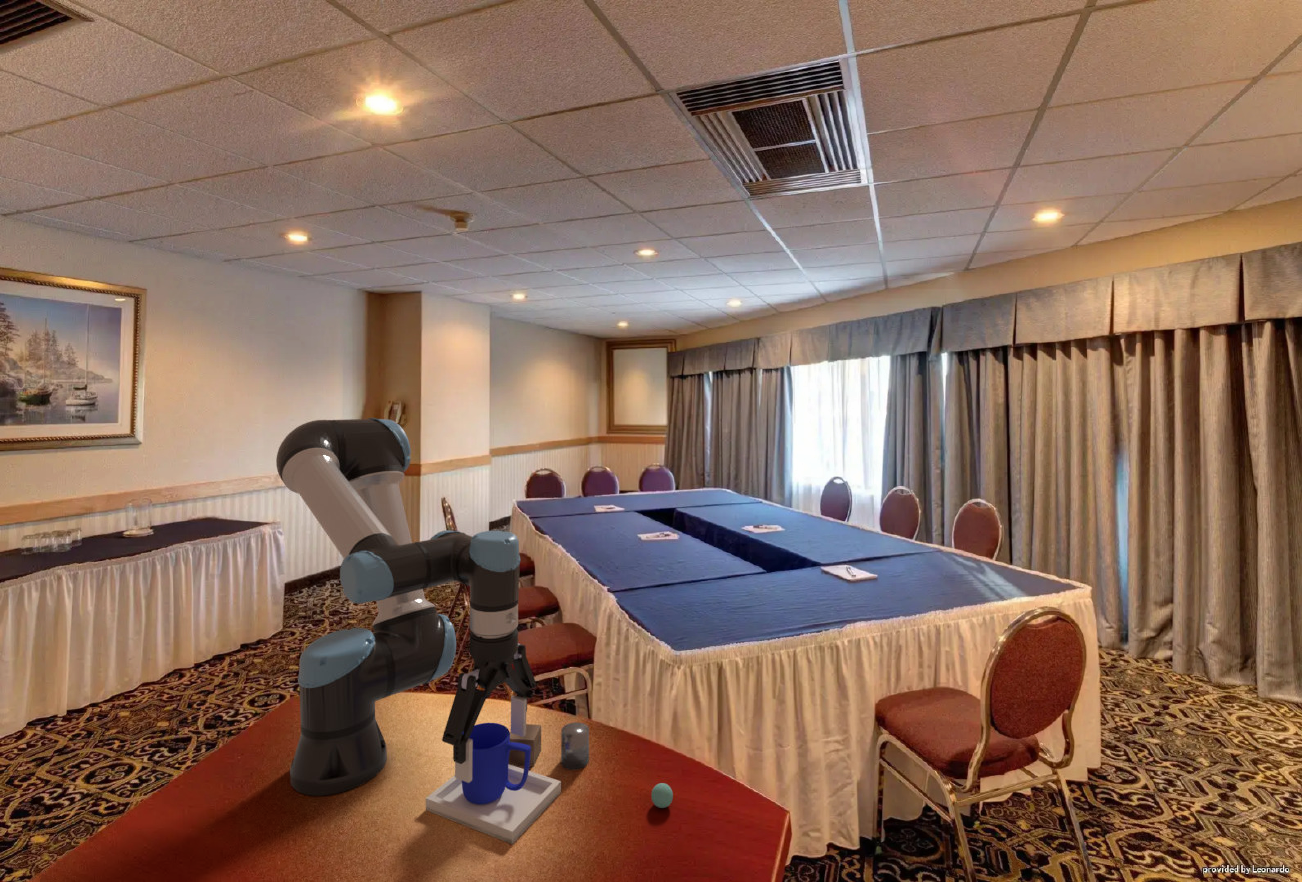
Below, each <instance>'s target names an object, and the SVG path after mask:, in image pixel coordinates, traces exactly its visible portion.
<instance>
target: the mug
mask: <svg viewBox="0 0 1302 882" xmlns="http://www.w3.org/2000/svg"><path fill="white" fill-rule="evenodd" d="M510 731H511V730H509V728H508V727H507V726H505V725H504V724H501V723H497V722H496V723H495V722H483V723H478V724H475V725H474V728H473V730H472V733H471V735H470V737H469V739H472V740H473V752H472V781H471V782H469V783H468V782H465V781H462V790H463V794H464V796H465V798H466V799H467V800H468V801H469V802H471V803H474V804H487V803H490V802H493V801H495V800H496V799H498V798H499V797H500V796H501V795H502V794H503V792H504V790H505V787H506V788H507V789H509V790H512V791H517V790H520V789H521V788H522V787H523V786H524V784H525V782H526V780H527V776H528V772H529V771H530V766H529V765H530V755H531V747H530V746H529V745H526V744H522V743H515V742H510ZM463 733H464V732H463ZM510 750H519V751H523V752H525V764H524V766H523V769H524V773H523V777H522V780H521V782H520V783H519V784H512V783H510V782H509V780H508V763H509V753H510Z"/></svg>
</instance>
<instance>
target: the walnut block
mask: <svg viewBox="0 0 1302 882" xmlns="http://www.w3.org/2000/svg"><path fill="white" fill-rule="evenodd" d="M509 731H510V742H515V743H522V744H526V745H529V746H530V747H531V755H530V765H529V767H535V765H536V764H537V760H538V759H539V756H540V754H541V752H542V724H530V723H526V735H525V736H524V737H522V736H519V735H516V734H513V733H511V730H509ZM508 764H510V765H513V766H521V767H524V764H525V752H523V751H519V750H510V753H509V763H508Z"/></svg>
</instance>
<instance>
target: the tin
mask: <svg viewBox="0 0 1302 882" xmlns="http://www.w3.org/2000/svg"><path fill="white" fill-rule="evenodd" d="M560 734H561V736H560V737H561V738H560V749H561V750H560V763H561V764H560V765H561V766H562V767H563V769H564V768H565V769H566V770H570V771H578V770H581V769H584V768H585V767H587V766H588V764H589V762H590V727H589V726H588V725H587V724H585V723H583V722H569V723H567V724H565V725H563V727H562V728H561V731H560Z"/></svg>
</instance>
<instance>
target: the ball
mask: <svg viewBox="0 0 1302 882" xmlns="http://www.w3.org/2000/svg"><path fill="white" fill-rule="evenodd" d="M650 795H651V797H650V798H651V801H652V803H653V805H655V807H657V808H659V809H664V808H667V807H669V806H670V804H671V803H672V802H673V798H674V793H673V790H672V788H671V786H670V785H669V784H667V783H663V782H661V783H658V784H656V785H654V787H653V788H652V790H651V794H650Z"/></svg>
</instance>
